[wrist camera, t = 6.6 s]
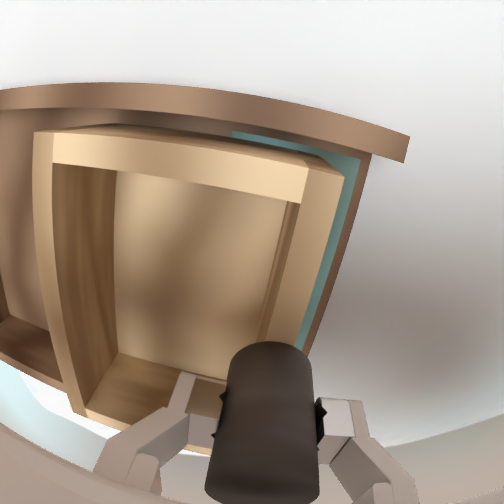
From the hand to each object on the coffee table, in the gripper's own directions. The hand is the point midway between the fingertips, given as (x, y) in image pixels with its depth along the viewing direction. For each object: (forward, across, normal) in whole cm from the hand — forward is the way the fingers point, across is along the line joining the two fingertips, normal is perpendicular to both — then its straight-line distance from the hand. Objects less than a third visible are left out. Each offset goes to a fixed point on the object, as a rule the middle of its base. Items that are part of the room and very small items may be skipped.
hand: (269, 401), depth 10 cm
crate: (+8, +4, 0) cm, 9 cm away
